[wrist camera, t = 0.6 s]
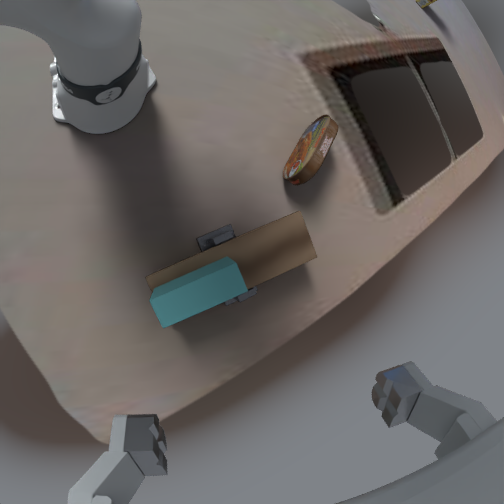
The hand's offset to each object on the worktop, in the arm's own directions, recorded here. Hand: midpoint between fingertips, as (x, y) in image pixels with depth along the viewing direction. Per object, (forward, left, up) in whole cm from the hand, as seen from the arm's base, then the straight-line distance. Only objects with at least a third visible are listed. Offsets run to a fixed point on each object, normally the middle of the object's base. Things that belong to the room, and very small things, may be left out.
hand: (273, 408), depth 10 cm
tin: (-11, +31, -42) cm, 53 cm away
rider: (+2, +4, -38) cm, 38 cm away
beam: (+2, +11, -39) cm, 40 cm away
